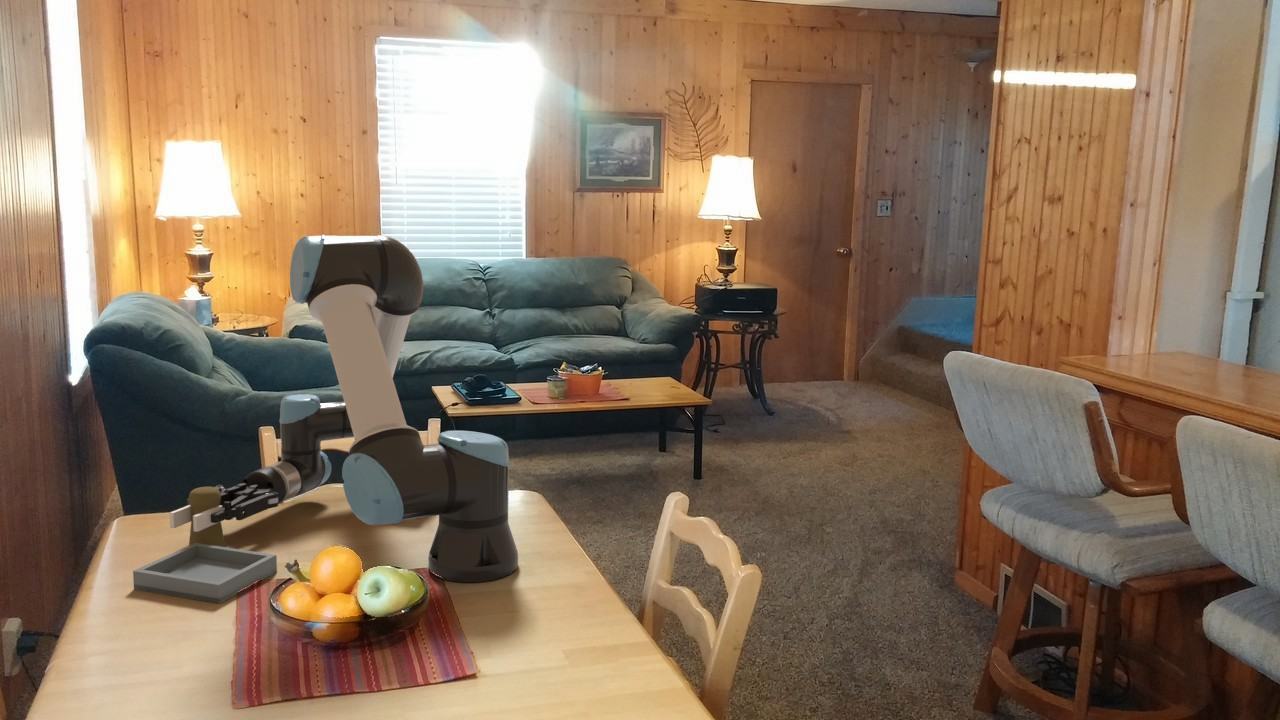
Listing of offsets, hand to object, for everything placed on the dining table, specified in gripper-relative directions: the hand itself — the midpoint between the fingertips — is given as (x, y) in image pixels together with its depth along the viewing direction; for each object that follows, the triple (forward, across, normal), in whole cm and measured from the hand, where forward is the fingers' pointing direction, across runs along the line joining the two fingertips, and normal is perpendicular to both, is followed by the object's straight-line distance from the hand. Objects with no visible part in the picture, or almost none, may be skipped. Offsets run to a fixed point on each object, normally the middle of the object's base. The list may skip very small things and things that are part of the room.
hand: (183, 522), depth 172 cm
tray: (+7, -10, -6) cm, 14 cm away
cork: (-5, 0, -7) cm, 9 cm away
